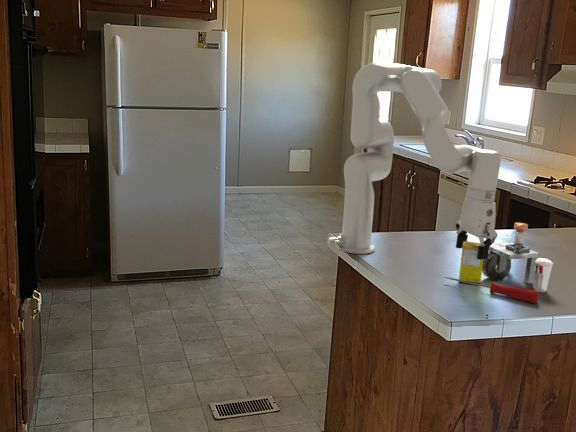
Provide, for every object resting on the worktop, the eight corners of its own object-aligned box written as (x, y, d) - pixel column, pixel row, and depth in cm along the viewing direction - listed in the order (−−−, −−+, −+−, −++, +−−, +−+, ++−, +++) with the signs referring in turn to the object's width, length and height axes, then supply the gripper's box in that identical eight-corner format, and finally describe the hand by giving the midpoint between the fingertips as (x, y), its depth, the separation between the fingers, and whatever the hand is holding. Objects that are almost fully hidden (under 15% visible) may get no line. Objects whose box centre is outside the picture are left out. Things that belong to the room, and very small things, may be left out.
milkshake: (550, 295, 164) (555, 260, 161) (529, 290, 166) (534, 256, 164) (552, 290, 168) (558, 256, 165) (532, 286, 170) (537, 252, 168)
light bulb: (516, 251, 170) (520, 226, 168) (508, 247, 173) (511, 222, 172) (527, 250, 171) (530, 225, 170) (518, 247, 174) (521, 222, 173)
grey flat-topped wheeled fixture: (497, 287, 168) (501, 252, 165) (470, 273, 179) (474, 240, 176) (533, 283, 172) (539, 249, 170) (505, 270, 183) (510, 238, 181)
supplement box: (480, 279, 174) (484, 243, 171) (480, 285, 168) (485, 248, 166) (459, 276, 175) (463, 240, 173) (458, 282, 170) (462, 245, 167)
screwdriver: (445, 281, 171) (446, 269, 170) (538, 301, 159) (540, 289, 158) (441, 284, 168) (442, 272, 167) (535, 305, 156) (537, 293, 155)
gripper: (512, 202, 159) (502, 263, 164) (472, 187, 175) (463, 243, 179) (489, 202, 157) (479, 264, 161) (450, 187, 172) (442, 244, 177)
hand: (471, 253), depth 170 cm, fingers open, 9 cm apart
